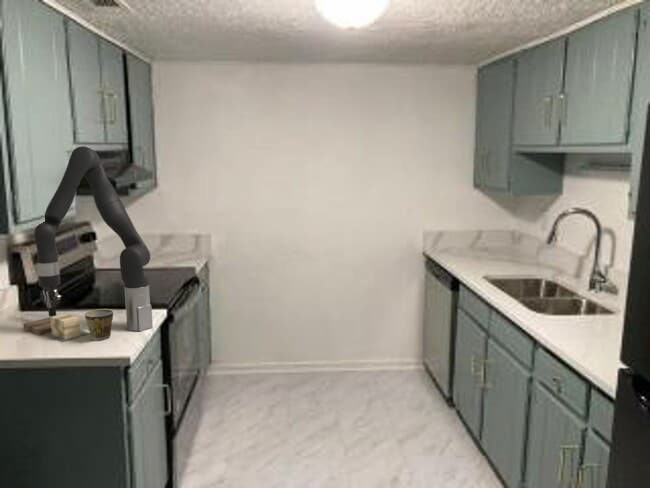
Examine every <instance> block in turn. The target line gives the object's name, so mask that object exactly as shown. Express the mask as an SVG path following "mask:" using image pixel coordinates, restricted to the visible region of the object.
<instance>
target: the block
mask: <svg viewBox="0 0 650 488" xmlns="http://www.w3.org/2000/svg"><path fill="white" fill-rule="evenodd" d="M49 317H50V316H49ZM50 320H51V331H52V335H55V336H57V337H60V338H63V339H69V338H73V337H76V336H80V330H81V326H80V317H78V316H75V315H72V314H69V313H66V312H65V313H62V314H61V313H60V314H56V316H52V317H50Z"/></svg>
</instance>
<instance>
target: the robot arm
mask: <svg viewBox="0 0 650 488" xmlns="http://www.w3.org/2000/svg"><path fill="white" fill-rule="evenodd" d="M104 168H105V167H103V163H102V160H101V159H100V156H99V154H98V152H96V151H95V150H94V149H92V148H90V147H88V146H83V145H82V146H77V147H76V148H74V149H73V150H72V152H71V154H70V157H69V160H68V163H67V166H66V167H65V172H64V173H63V176H62V178H61V181H60V183H59V185H58V186H57V188H56V191H55V193H54V195H53V196H52V197H51V199H50V201H49V202H48V205H47V206H46V208H45V212H44V214H45V222H43V223H41V224H39V225H38V224H37V225H38V226H37V225H36V227H35V229H34V240H35V246H36V257H37V277H38V278H37V279H38V286H39V287H41V288H42V291H40V292H39V294H40V295H39V296H40V297H41V300H42V302H43V304H44V306H46V308H47V311H48V317H52V316H56V315H57V309H56V308H57V307H58V306H60V303H61V301H62V298H63V295H62V294H59V289H58V286H59V285H60V284H61V272H60V265H59V258H58V250H57V248H56V233H57V231H58V229H59V227H60V224H62V221H63V220H64V218H65V217H66V216H67V214H68V212H69V210H70V208H71V206H72V204H73V202H74V200H75V197H76V194H77V189H78V187H79V184H80V183H81V181H82V180H83V177H84V178H85V180H86V181H87V183H88V185H89V186H90V189H91V192H92V197H93V201H94V203H95V206H96V209H97V212H99V215H100V216H101V218H102V220H103V221H104V223H105V224H106V225H107V226H108V228H110V229H111V230H112V231H113V232H114V233H115V234H116V235H117V236H118V237H119V238H120V240H121V241H122V244H123V246H124V247H125V248H124V249H122V250H121V252H120V255H119V265H120V269H119V270H120V274H121V275H120V276H121V281H122V282H123V286H124V302H125V313H126V314H125V315H126V327H127V328H126V329H127V330H128V331H133V332H142V331H144V330H145V331H146V330H149V329H151V328H154V327H153V312H152V310H153V308H152V307H153V306H152V304H151V301H150V300H151V298H150V281H149V277H148V276H145V274H144V267H146V266H147V265H148V264H149V263H150V261H151V253H150V250H149V248H148V247H147V245H146V243H145V242H144V240H143V239H142V237H141V236H140V234H139V233H138V231H137V229H136V227H135V226H134V224H133V223H134V222H132V220H131V217H130V216H129V214H128V212H127V210H126V207H125V206H124V204H123V202H122V199H121V198H120V196H119V194H118V193H117V191H116V190H115V187H114V186H113V184H112V183H111V181H110V180H109V179H108V175H107V173H106V171H105V169H104Z"/></svg>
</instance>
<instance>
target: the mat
mask: <svg viewBox="0 0 650 488" xmlns="http://www.w3.org/2000/svg"><path fill="white" fill-rule="evenodd" d="M87 335H90V332H88V331H84V330H82V329H80V336H76V337H73V338H69V339H63V338H60V337H57V336H55V335H52V332H49V333H45V334H44V335H43V336H46V337H49V338H51V339H54V340H56V341H59V342H67V341H70V340H74V339H78V338H81V337H83V336H84V337H85V336H87Z"/></svg>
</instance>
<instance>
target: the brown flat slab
mask: <svg viewBox="0 0 650 488" xmlns="http://www.w3.org/2000/svg"><path fill="white" fill-rule="evenodd" d="M22 327H23V330H25V331H28V332H31V333H35V334H36V335H38V336H45V335H44V334H45V333H49V332H52V331H51V320H50V316H48V317H46V318H41V319H37V320H33V321H30V322H25V323H23V324H22Z"/></svg>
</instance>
